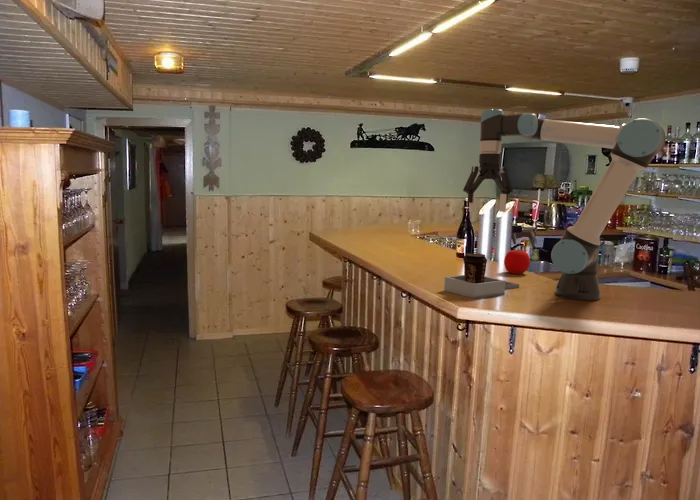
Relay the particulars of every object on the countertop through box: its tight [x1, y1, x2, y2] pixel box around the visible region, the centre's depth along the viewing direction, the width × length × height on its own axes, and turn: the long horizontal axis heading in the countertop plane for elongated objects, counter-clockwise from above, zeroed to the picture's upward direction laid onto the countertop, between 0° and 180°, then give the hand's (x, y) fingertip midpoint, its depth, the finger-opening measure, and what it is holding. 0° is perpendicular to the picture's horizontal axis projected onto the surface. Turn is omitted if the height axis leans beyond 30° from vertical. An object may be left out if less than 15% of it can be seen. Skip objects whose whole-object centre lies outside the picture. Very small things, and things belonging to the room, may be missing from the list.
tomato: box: [503, 248, 531, 275], centre depth 238 cm, size 10×11×11 cm
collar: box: [504, 280, 520, 290], centre depth 210 cm, size 15×15×1 cm
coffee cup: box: [462, 252, 488, 284], centre depth 196 cm, size 9×8×13 cm
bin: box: [443, 274, 506, 300], centre depth 196 cm, size 15×15×5 cm
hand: (487, 211), depth 200 cm, fingers open, 13 cm apart
